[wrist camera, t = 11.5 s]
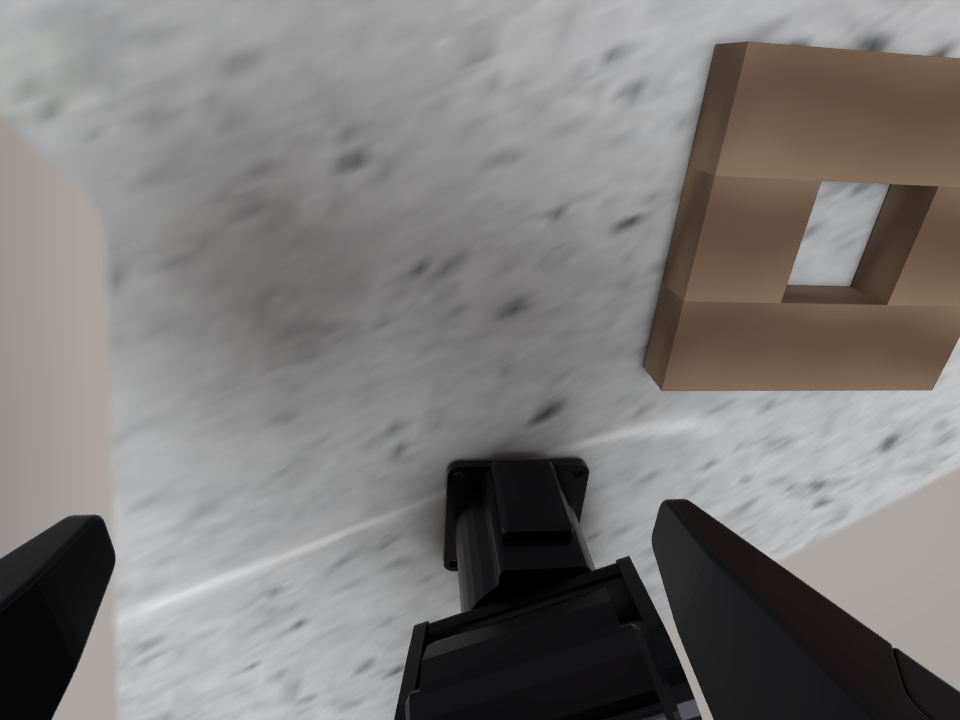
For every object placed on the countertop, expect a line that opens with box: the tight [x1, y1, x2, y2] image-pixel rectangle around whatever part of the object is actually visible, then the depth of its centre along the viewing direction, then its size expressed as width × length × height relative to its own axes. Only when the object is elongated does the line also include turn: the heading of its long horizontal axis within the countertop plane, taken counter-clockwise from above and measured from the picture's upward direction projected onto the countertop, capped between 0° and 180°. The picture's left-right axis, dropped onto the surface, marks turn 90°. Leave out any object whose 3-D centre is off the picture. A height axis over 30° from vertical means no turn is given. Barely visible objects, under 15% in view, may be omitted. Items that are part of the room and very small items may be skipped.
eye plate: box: [643, 42, 960, 391], centre depth 21 cm, size 12×12×2 cm
